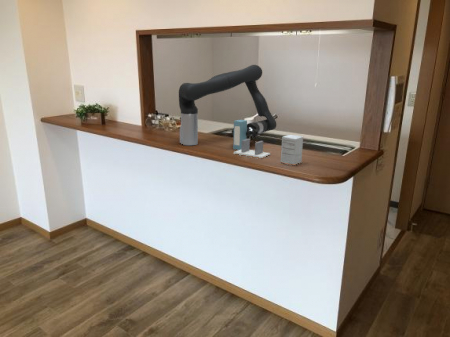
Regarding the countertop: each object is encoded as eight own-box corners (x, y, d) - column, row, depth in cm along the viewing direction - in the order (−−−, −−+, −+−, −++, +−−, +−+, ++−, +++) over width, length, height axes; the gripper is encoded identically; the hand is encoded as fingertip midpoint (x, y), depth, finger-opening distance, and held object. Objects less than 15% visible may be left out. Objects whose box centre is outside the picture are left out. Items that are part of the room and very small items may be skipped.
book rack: (233, 154, 186) (234, 140, 184) (242, 150, 193) (243, 137, 191) (261, 159, 178) (262, 144, 176) (270, 155, 185) (271, 141, 183)
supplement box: (287, 160, 177) (289, 134, 174) (301, 162, 173) (303, 136, 169) (279, 163, 172) (281, 136, 168) (294, 166, 167) (296, 138, 164)
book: (233, 149, 197) (233, 121, 193) (239, 146, 202) (239, 119, 197) (240, 150, 194) (241, 122, 190) (246, 148, 199) (247, 120, 195)
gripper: (243, 120, 211) (228, 124, 198) (265, 123, 204) (251, 127, 190) (243, 133, 213) (228, 138, 200) (265, 136, 206) (250, 141, 193)
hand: (239, 133), depth 195 cm, fingers open, 8 cm apart
